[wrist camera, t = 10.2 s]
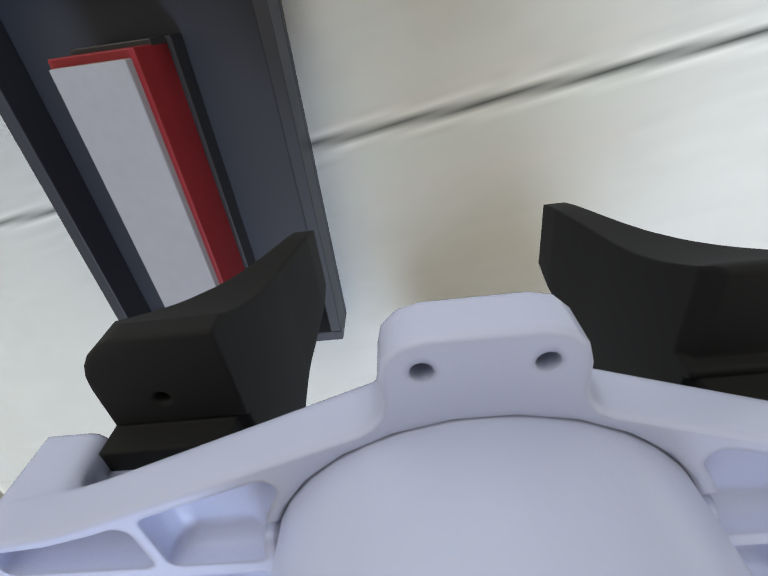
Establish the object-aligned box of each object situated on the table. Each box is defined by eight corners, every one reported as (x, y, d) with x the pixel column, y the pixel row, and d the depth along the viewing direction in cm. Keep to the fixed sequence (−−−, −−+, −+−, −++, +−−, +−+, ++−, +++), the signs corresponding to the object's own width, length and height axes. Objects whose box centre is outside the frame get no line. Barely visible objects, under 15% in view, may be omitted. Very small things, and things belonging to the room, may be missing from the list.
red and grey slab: (264, 289, 25) (244, 338, 22) (205, 294, 26) (175, 344, 22) (181, 33, 18) (129, 40, 15) (100, 45, 19) (28, 55, 15)
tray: (346, 313, 27) (343, 339, 25) (158, 331, 28) (139, 358, 26) (268, -59, 17) (252, -67, 15) (-21, -13, 18) (-75, -15, 16)
